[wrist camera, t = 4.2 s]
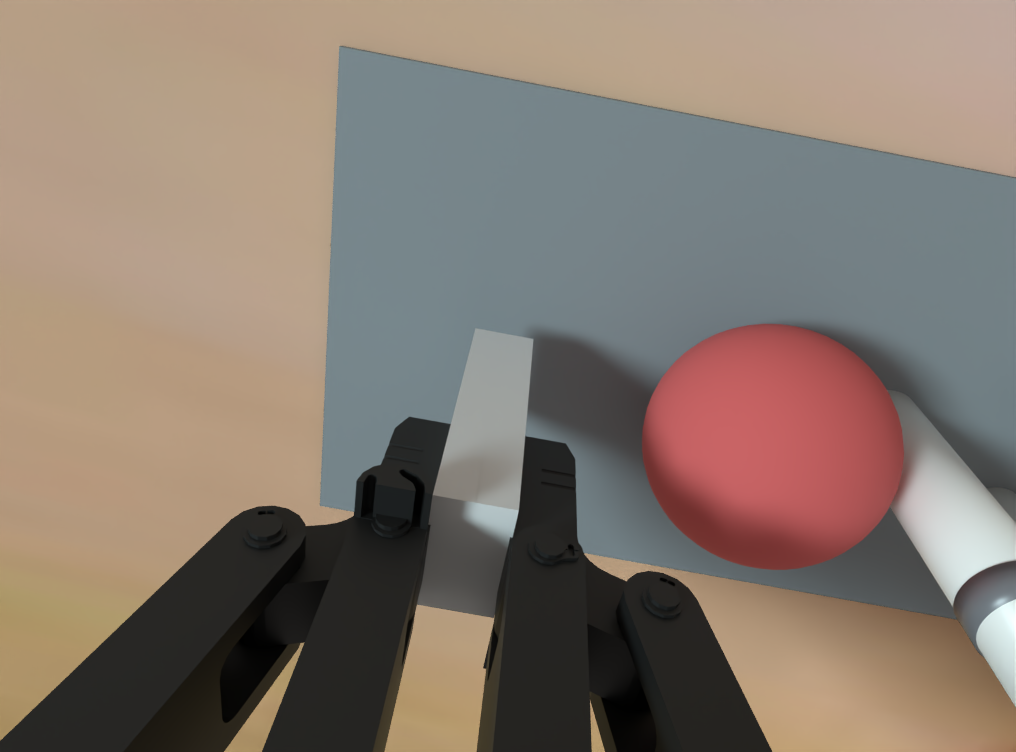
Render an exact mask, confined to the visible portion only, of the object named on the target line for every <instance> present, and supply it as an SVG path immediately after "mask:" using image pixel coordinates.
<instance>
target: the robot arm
mask: <svg viewBox="0 0 1016 752" xmlns="http://www.w3.org/2000/svg"><path fill="white" fill-rule="evenodd" d="M532 350H533V339H531V338H525V337H520V336H515V335H509V334H504V333H498V332H493V331H488V330H482V329H477V328H475V332H474V336H473V340H472V344H471V348H470V352H469V356H468V360H467V363H466V367H465V371H464V375H463V379H462V383H461V387H460V391H459V395H458V398H457V402H456V406H455V410H454V414H453V418H452V422H451V424H448V423H442V422H437V421H431V420H426V419H420V418H415V417H408V418H407V419H405V420H404V421H403V422H402V423H400V424H399V425H398V426H397V427H396V428H395V429H394V432H393V434H392V437H391V440H390V442H389V446H388V447H387V450H386V453H385V456H384V458H383V460H382V463H381V465H377V466H373V467H372V468H370V469H368V470H366V471H364V472H363V473H362V474H361V476H360V477H359V478H358V479H357V481H356V494H355V508H354V516H353V517H351V518H349V519H347V520H345V521H342V522H339V523H335V524H328V525H317V526H305V523H304V522H303V520H302V519H301V517H300V516H299V515H298V514H296V513H294V512H293V511H291V510H289V509H287V508H282V507H277V506H262V507H256V508H252V509H249V510H246V511H243V512H242V513H240V514H239V515H237V516H236V517H234V518H233V519H231V520H230V521H229V522H228V523H227V524H226V525H225V526H224V527H223V528H222V529H221V530H220V531H219V532H218V533H217V534H216V535H215V536H214V537H213V538H212V539H210V540H209V541H208V542H207V543H206V544H205V545H204V546H203V547H202V548H201V549H200V550H199V551H198V552H197V553H196V554H195V555H194V556H193V557H192V558H191V559H190V560H189V561H188V562H186V563H185V564H184V565H183V566H182V567H181V568H180V569H179V570H178V571H177V572H176V573H175V574H174V575H173V576H172V577H171V578H170V579H169V580H168V581H167V582H166V583H165V584H164V585H162V586H161V587H160V588H159V589H158V590H157V591H156V592H155V593H154V594H153V595H152V596H151V597H150V598H149V599H148V600H147V601H146V602H145V603H144V604H143V605H142V606H141V607H140V608H138V609H137V610H136V611H135V612H134V613H133V614H132V615H131V616H130V617H129V618H128V619H127V620H126V621H125V622H124V623H123V624H122V625H121V626H120V627H119V628H118V629H117V630H116V631H114V632H113V633H112V634H111V635H110V636H109V637H108V638H107V639H106V640H105V641H104V642H103V643H102V644H101V645H100V646H99V647H98V648H97V649H96V650H95V651H94V652H93V653H92V654H90V655H89V656H88V657H87V658H86V659H85V660H84V661H83V662H82V663H81V664H80V665H79V666H78V667H77V668H76V669H75V670H74V671H73V672H72V673H71V674H70V675H69V676H68V677H66V678H65V679H64V680H63V681H62V682H61V683H60V684H59V685H58V686H57V687H56V688H55V689H54V690H53V691H52V692H51V693H50V694H49V695H48V696H47V697H46V698H45V699H44V700H43V701H41V702H40V703H39V704H38V705H37V706H36V707H35V708H34V709H33V710H32V711H31V712H30V713H29V714H28V715H27V716H26V717H25V718H24V719H23V720H22V721H21V722H20V723H19V724H17V725H16V726H15V727H14V728H13V729H12V730H11V731H10V732H9V733H8V734H7V735H6V736H5V737H4V738H3V739H2V740H1V741H0V752H224V751H225V749H226V748H227V747H228V745H229V744H230V743H231V741H232V740H233V738H234V737H235V736H236V734H237V733H238V731H239V730H240V729H241V727H242V726H243V724H244V723H245V722H246V720H247V719H248V718H249V716H250V715H251V713H252V712H253V711H254V709H255V708H256V706H257V705H258V704H259V702H260V701H261V700H262V698H263V697H264V695H265V694H266V693H267V691H268V690H269V688H270V687H271V686H272V684H273V683H274V681H275V680H276V679H277V677H278V676H279V675H280V673H281V672H282V670H283V669H284V668H285V666H286V665H287V663H288V662H289V661H290V659H291V658H292V657H293V655H294V654H295V652H296V651H297V650H298V648H299V645H300V643H303V642H305V643H304V646H303V648H302V651H301V653H300V656H299V658H298V661H297V663H296V666H295V669H294V671H293V674H292V676H291V679H290V681H289V684H288V687H287V689H286V692H285V694H284V697H283V699H282V702H281V704H280V707H279V710H278V712H277V715H276V717H275V720H274V722H273V725H272V727H271V730H270V733H269V735H268V738H267V740H266V743H265V745H264V748H263V750H262V752H384V751H385V746H386V742H387V738H388V733H389V729H390V725H391V720H392V716H393V712H394V707H395V703H396V699H397V694H398V690H399V686H400V681H401V677H402V673H403V668H404V664H405V660H406V655H407V651H408V647H409V642H410V638H411V634H412V629H413V623H414V616H415V610H416V606H417V604H418V605H423V606H429V607H435V608H441V609H446V610H452V611H458V612H463V613H469V614H475V615H481V616H486V617H492V618H494V615H495V618H494V624H493V629H492V633H491V637H490V641H489V646H488V650H487V654H486V658H485V663H484V667H483V668H485V669H486V676H485V684H484V693H483V701H482V710H481V719H480V727H479V736H478V744H477V752H592V750H591V720H590V700H591V704H592V707H593V711H594V714H595V718H596V721H597V725H598V728H599V732H600V735H601V739H602V742H603V746H604V749H605V752H772V750H771V748H770V746H769V744H768V742H767V740H766V738H765V736H764V734H763V732H762V730H761V728H760V726H759V724H758V722H757V720H756V718H755V716H754V714H753V712H752V710H751V708H750V706H749V704H748V702H747V700H746V698H745V696H744V694H743V691H742V689H741V687H740V685H739V683H738V681H737V679H736V677H735V675H734V673H733V671H732V669H731V667H730V665H729V663H728V661H727V659H726V657H725V655H724V653H723V651H722V649H721V647H720V645H719V643H718V641H717V639H716V637H715V635H714V633H713V631H712V629H711V627H710V625H709V623H708V621H707V619H706V617H705V615H704V613H703V611H702V609H701V607H700V605H699V603H698V601H697V599H696V598H695V596H694V595H693V593H692V592H691V591H690V589H689V588H688V587H686V586H685V585H684V584H682V583H681V582H680V581H679V580H677V579H675V578H673V577H671V576H668V575H666V574H664V573H659V572H652V571H646V572H641V573H636V574H635V575H634V576H632V577H631V578H629V579H628V580H627V581H624V580H622V579H620V578H618V577H615V576H613V575H611V574H609V573H607V572H605V571H603V570H601V569H599V568H598V567H597V566H595V565H594V564H593V563H592V562H590V561H589V560H588V558H587V557H586V556H585V555H584V552H583V549H582V546H581V545H580V544H579V543H578V538H577V503H576V478H575V476H576V463H575V458H574V456H573V454H572V453H571V451H570V449H569V448H568V446H567V444H566V443H561V442H555V441H550V440H544V439H539V438H533V437H528V436H525V432H526V421H527V409H528V397H529V385H530V374H531V362H532Z"/></svg>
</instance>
